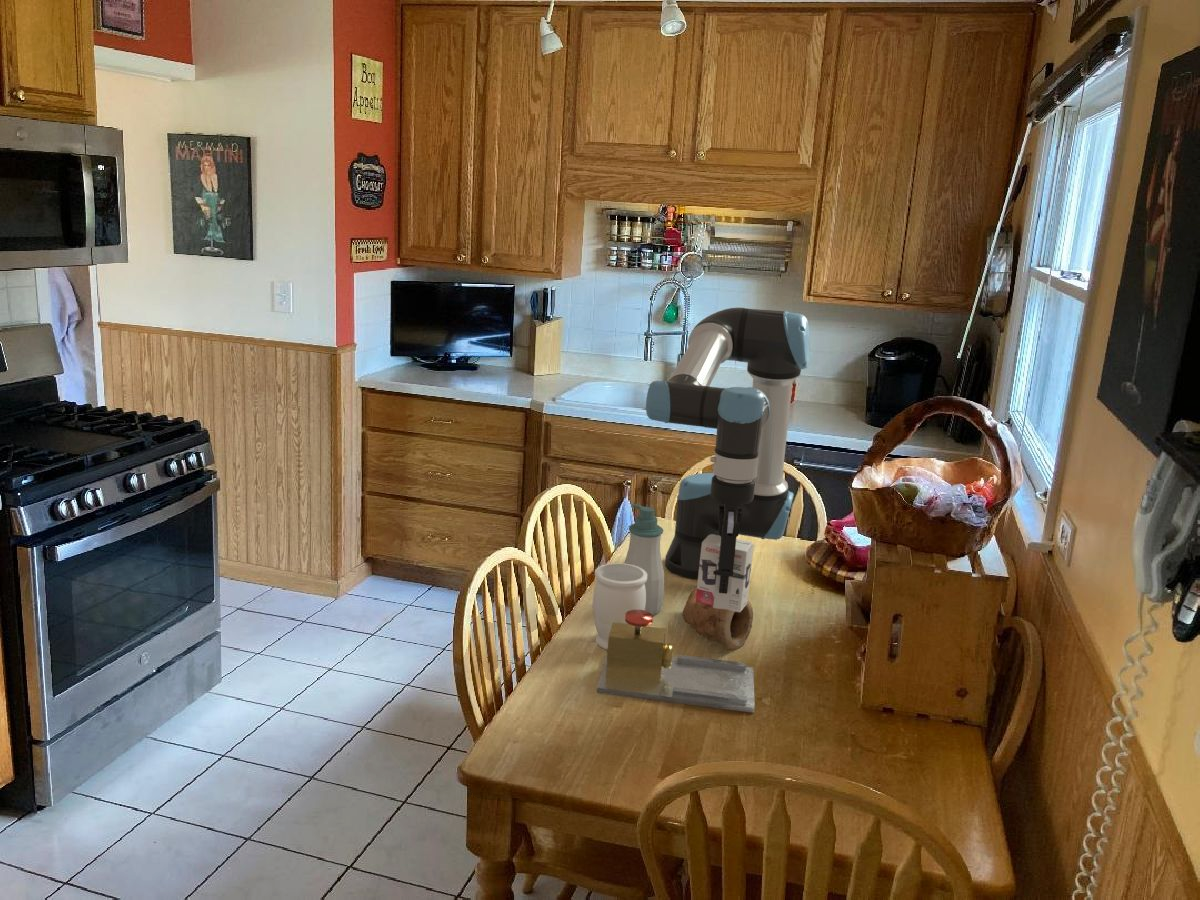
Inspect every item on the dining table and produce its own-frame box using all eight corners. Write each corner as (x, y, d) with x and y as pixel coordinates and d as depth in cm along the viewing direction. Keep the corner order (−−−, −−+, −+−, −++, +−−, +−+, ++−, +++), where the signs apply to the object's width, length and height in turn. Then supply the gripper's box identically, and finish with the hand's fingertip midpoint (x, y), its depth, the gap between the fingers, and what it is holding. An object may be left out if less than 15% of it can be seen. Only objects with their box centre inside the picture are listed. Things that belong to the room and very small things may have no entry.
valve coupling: (607, 654, 183) (611, 595, 180) (752, 672, 180) (759, 612, 177) (596, 692, 169) (600, 629, 166) (754, 712, 165) (761, 648, 162)
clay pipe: (679, 665, 189) (753, 657, 184) (667, 616, 186) (741, 607, 182) (696, 624, 206) (763, 615, 201) (684, 579, 204) (753, 569, 199)
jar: (607, 625, 195) (612, 558, 191) (651, 640, 190) (657, 570, 186) (580, 644, 186) (584, 574, 182) (625, 660, 181) (631, 587, 177)
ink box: (694, 602, 169) (700, 540, 166) (703, 593, 174) (709, 532, 170) (740, 613, 166) (747, 550, 163) (748, 603, 170) (755, 542, 167)
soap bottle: (638, 595, 211) (646, 498, 205) (671, 610, 204) (680, 511, 198) (607, 607, 204) (614, 507, 198) (640, 622, 198) (649, 520, 192)
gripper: (712, 460, 173) (701, 577, 179) (711, 491, 155) (698, 620, 161) (753, 464, 172) (740, 581, 178) (757, 495, 154) (743, 625, 160)
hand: (720, 599), depth 170 cm, fingers closed on ink box, 6 cm apart
